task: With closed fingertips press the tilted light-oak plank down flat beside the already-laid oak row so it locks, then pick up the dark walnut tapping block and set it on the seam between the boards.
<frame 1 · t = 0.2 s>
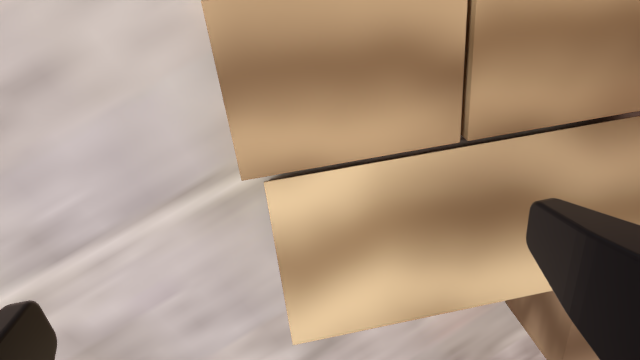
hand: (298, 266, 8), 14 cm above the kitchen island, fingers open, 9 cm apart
tapping block: (544, 266, 30), on the kitchen island
laid row: (453, 52, 22), on the kitchen island
plank: (469, 224, 23), point 3 cm above the kitchen island, hinge at 28.0°
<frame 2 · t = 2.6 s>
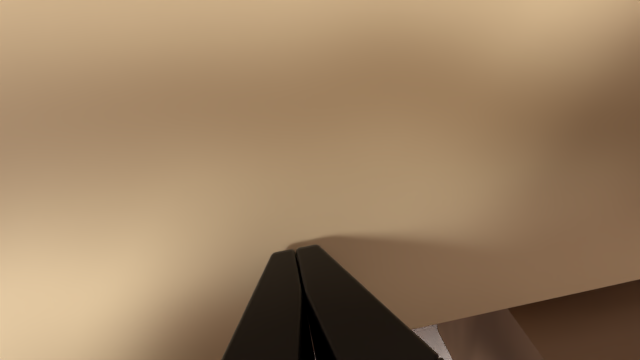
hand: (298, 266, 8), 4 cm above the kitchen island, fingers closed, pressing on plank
tapping block: (509, 261, 15), on the kitchen island
plank: (275, 139, 9), point 2 cm above the kitchen island, hinge at 23.6°, touching gripper
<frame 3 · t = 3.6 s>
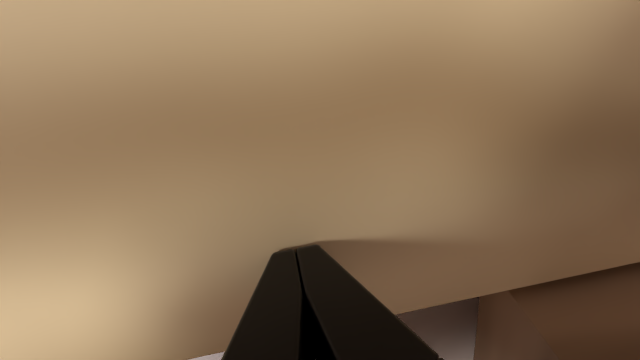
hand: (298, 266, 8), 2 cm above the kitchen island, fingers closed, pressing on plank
tapping block: (560, 306, 13), on the kitchen island
plank: (277, 139, 8), point 1 cm above the kitchen island, hinge at -0.4°, touching gripper
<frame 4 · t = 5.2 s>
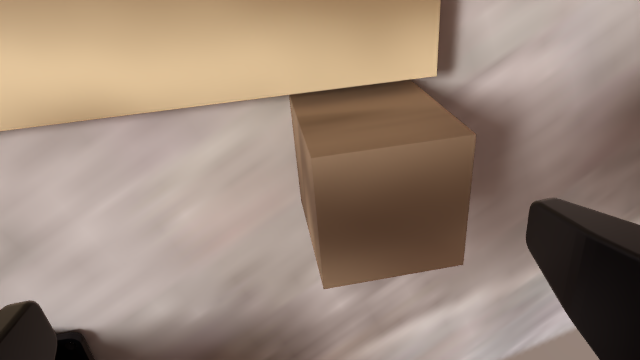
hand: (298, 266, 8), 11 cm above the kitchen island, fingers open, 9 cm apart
tapping block: (352, 141, 20), on the kitchen island
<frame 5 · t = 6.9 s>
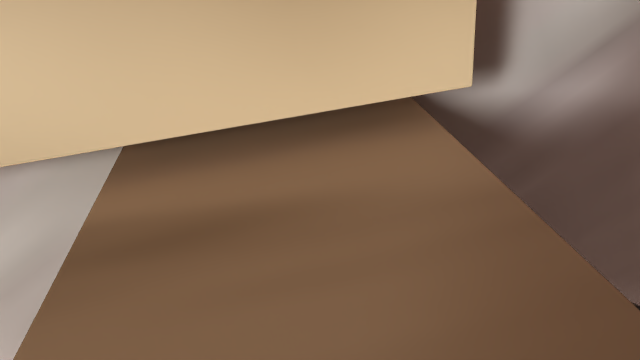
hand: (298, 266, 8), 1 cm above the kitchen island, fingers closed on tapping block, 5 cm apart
tapping block: (290, 228, 9), on the kitchen island, touching gripper
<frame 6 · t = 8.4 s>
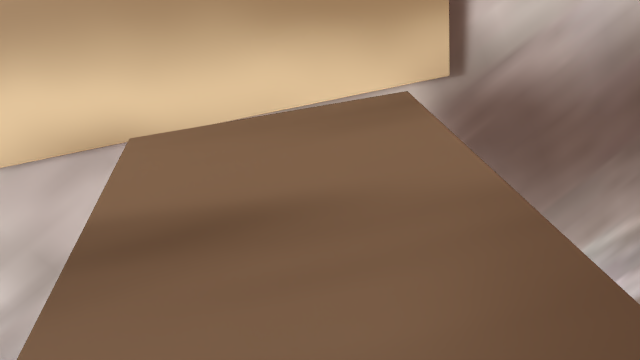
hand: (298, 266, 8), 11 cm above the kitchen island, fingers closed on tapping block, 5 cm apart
tapping block: (292, 227, 9), point 10 cm above the kitchen island, touching gripper
plank: (151, 11, 15), point 1 cm above the kitchen island, hinge at -0.3°
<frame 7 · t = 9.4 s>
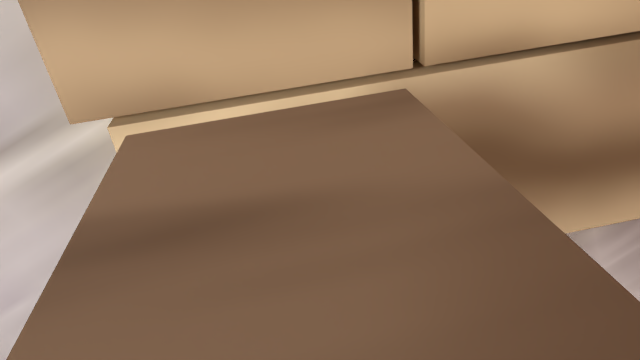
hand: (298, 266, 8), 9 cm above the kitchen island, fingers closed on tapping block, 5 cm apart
tapping block: (290, 225, 9), point 8 cm above the kitchen island, touching gripper
plank: (411, 170, 17), point 1 cm above the kitchen island, hinge at -0.3°
when the fingers open (4 cm above the kitchen island, at t = 10.6 s): tapping block stays where it is, resting on plank.
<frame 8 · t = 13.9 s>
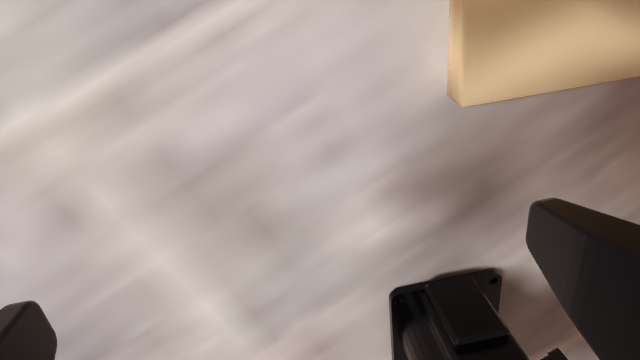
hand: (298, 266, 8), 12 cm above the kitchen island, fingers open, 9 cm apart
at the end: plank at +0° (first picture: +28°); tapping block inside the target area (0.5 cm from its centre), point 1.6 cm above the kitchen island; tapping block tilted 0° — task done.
